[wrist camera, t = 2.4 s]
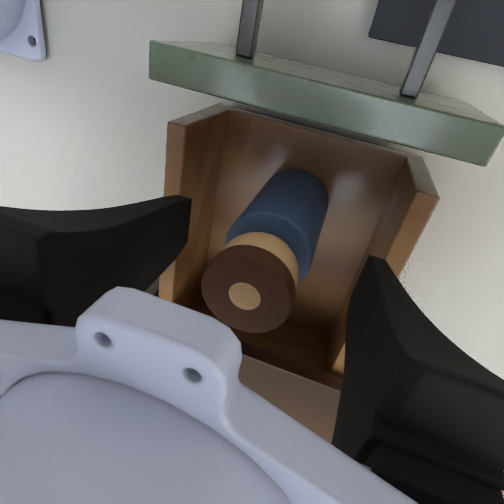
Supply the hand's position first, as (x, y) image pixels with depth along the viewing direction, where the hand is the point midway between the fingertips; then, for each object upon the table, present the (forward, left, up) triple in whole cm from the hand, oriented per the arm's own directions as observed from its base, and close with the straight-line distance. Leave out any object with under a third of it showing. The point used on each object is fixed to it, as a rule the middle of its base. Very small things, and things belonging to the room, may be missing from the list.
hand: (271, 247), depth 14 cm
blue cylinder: (0, 0, -5) cm, 5 cm away
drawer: (-1, 0, -6) cm, 6 cm away
